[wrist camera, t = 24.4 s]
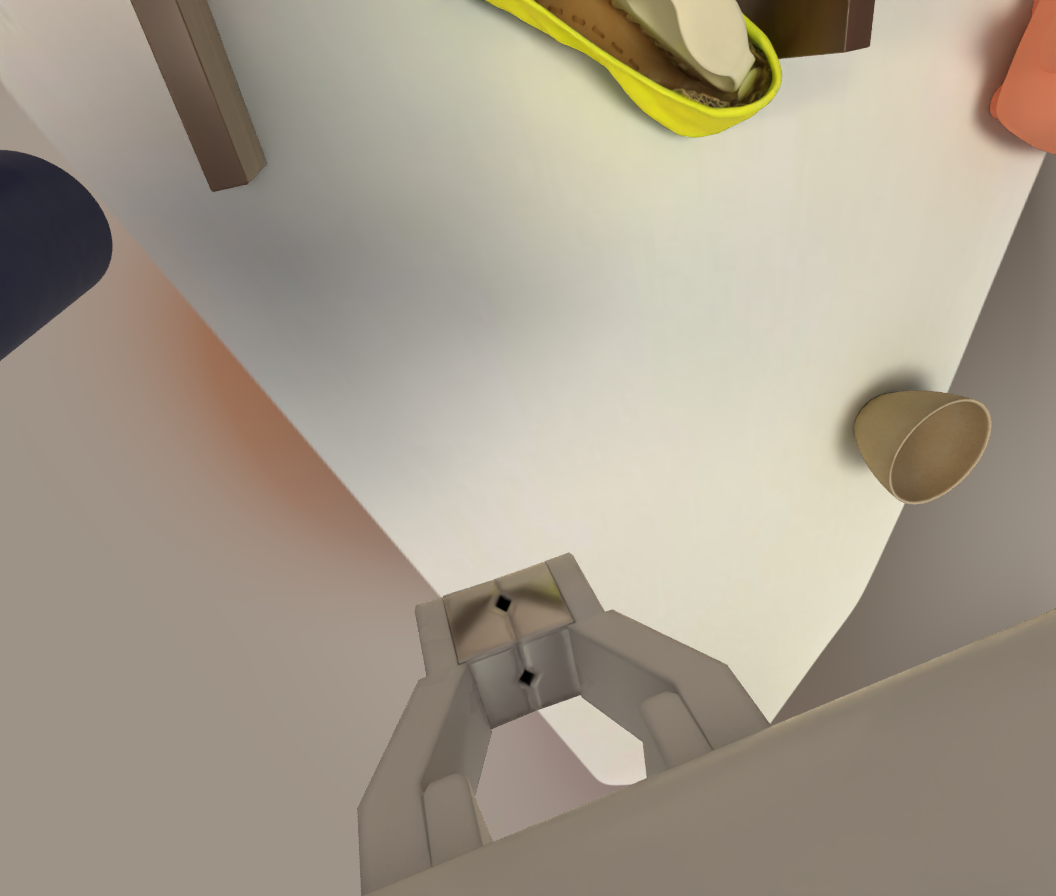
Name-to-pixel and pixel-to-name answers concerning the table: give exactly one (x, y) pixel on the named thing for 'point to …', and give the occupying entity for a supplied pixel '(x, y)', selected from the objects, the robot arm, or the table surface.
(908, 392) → the bowl
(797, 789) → the robot arm
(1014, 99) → the teapot
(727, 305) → the table surface
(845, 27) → the wooden shelf
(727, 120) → the ballet flat
